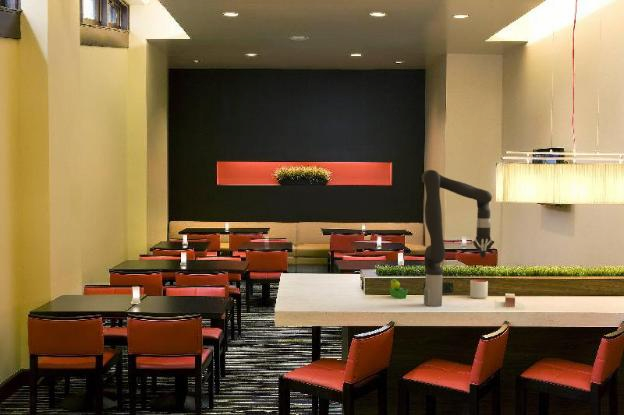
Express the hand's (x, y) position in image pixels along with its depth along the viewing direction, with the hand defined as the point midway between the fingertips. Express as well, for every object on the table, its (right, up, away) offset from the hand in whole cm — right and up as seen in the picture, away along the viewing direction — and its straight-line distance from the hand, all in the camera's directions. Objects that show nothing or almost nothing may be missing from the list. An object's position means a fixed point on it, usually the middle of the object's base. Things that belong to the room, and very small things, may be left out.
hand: (482, 257), depth 453 cm
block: (+14, -24, -4) cm, 29 cm away
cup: (+4, -26, +29) cm, 39 cm away
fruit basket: (-45, -25, +25) cm, 57 cm away
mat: (+15, -27, +1) cm, 31 cm away
